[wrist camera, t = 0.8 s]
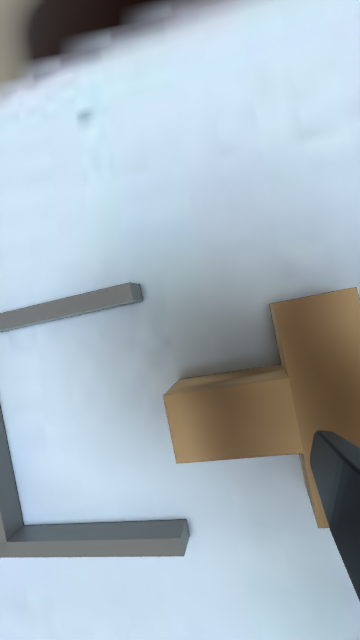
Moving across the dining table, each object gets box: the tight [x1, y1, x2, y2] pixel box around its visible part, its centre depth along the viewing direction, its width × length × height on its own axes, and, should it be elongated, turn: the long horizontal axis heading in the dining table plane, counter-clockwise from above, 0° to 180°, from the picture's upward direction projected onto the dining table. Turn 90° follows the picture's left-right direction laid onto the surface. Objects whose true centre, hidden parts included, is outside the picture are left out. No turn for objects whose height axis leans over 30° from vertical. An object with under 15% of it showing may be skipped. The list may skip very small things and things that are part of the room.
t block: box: [163, 287, 360, 528], centre depth 18 cm, size 11×12×4 cm
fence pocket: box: [0, 282, 189, 557], centre depth 23 cm, size 15×18×2 cm
